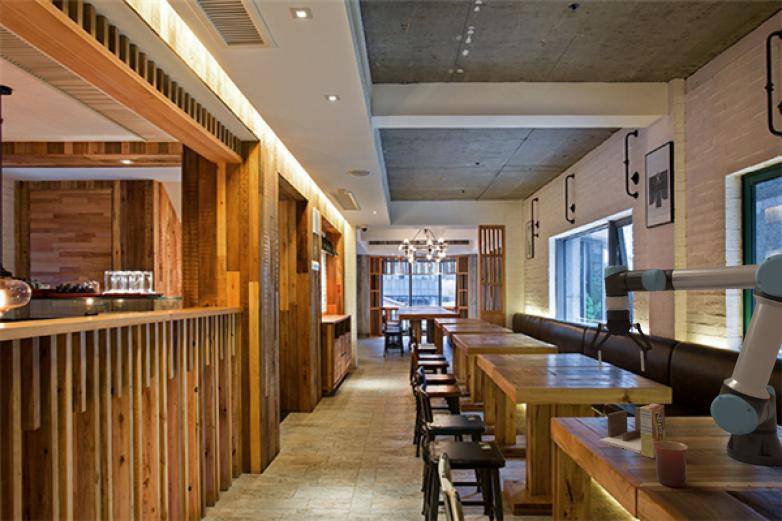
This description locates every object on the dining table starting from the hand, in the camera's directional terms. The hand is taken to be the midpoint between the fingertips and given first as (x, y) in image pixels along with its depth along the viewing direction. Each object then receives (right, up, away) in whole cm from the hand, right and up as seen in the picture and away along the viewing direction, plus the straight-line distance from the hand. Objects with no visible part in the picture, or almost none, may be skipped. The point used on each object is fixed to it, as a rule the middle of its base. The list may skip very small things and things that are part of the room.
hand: (621, 370), depth 181 cm
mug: (-3, -23, -38) cm, 44 cm away
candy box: (+4, -24, -15) cm, 29 cm away
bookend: (+6, -25, -4) cm, 26 cm away
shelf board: (+2, -25, -4) cm, 25 cm away
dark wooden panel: (+1, -25, +4) cm, 25 cm away
